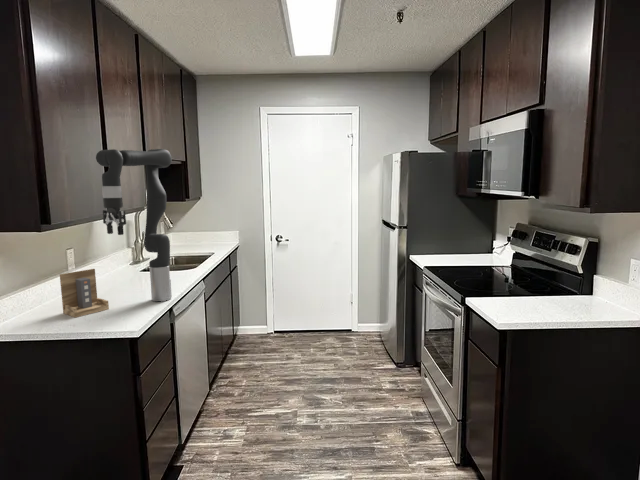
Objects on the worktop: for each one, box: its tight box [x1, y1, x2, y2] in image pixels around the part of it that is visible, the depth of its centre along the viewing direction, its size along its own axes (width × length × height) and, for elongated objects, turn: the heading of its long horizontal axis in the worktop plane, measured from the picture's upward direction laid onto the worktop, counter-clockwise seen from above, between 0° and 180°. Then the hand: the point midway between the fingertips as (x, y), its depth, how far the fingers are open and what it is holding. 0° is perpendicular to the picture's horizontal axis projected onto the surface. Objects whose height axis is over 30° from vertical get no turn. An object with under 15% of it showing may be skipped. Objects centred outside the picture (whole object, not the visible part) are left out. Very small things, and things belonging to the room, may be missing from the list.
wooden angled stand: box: [59, 268, 110, 318], centre depth 191 cm, size 11×15×18 cm
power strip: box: [76, 278, 92, 309], centre depth 192 cm, size 5×4×13 cm
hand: (115, 234), depth 182 cm, fingers open, 8 cm apart
